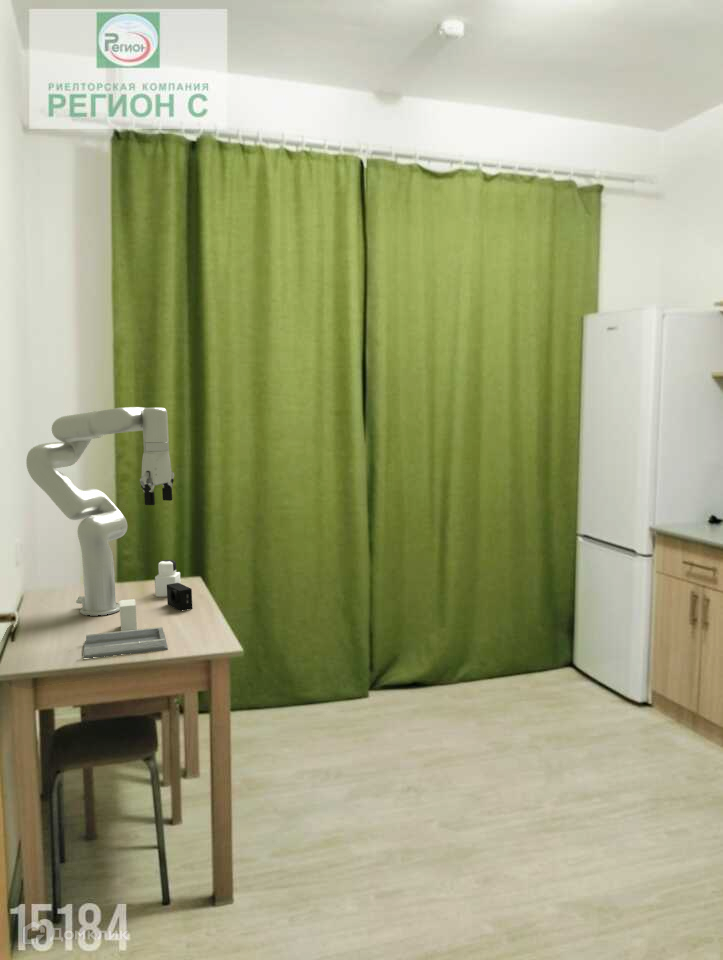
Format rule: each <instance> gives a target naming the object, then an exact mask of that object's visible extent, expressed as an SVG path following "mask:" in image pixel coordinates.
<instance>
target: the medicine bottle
mask: <svg viewBox="0 0 723 960" xmlns="http://www.w3.org/2000/svg"><path fill="white" fill-rule="evenodd" d="M157 565H158V566H157V568H158V574H157V575H155V577H154V590H155V597H157V598H158V597H159V598H160V597H161V598H162V597H163V598H165V597H166V598H167V585H168V584H173V583H180V584H182V583H181V582H182V581H181V572H180V571H177V562H176V561H175V560H173V559H164V560H160V561H159V562H158V564H157Z"/></svg>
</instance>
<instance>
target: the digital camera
mask: <svg viewBox="0 0 723 960" xmlns="http://www.w3.org/2000/svg"><path fill="white" fill-rule="evenodd" d="M192 592H193V591H192V588H191V587H189V586H186V585H184V584H182V583H181V584H180V583H173V584H168V585H167V597H166V598H167V600H166V601H167V605H168V606H170V607H171V606H172V608H173V607H174V608H173V609H175V608H176V610H177V611H179V612H183V611H182V610H185V611H188V610H187V609H190V610H192V609H193V593H192Z"/></svg>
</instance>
